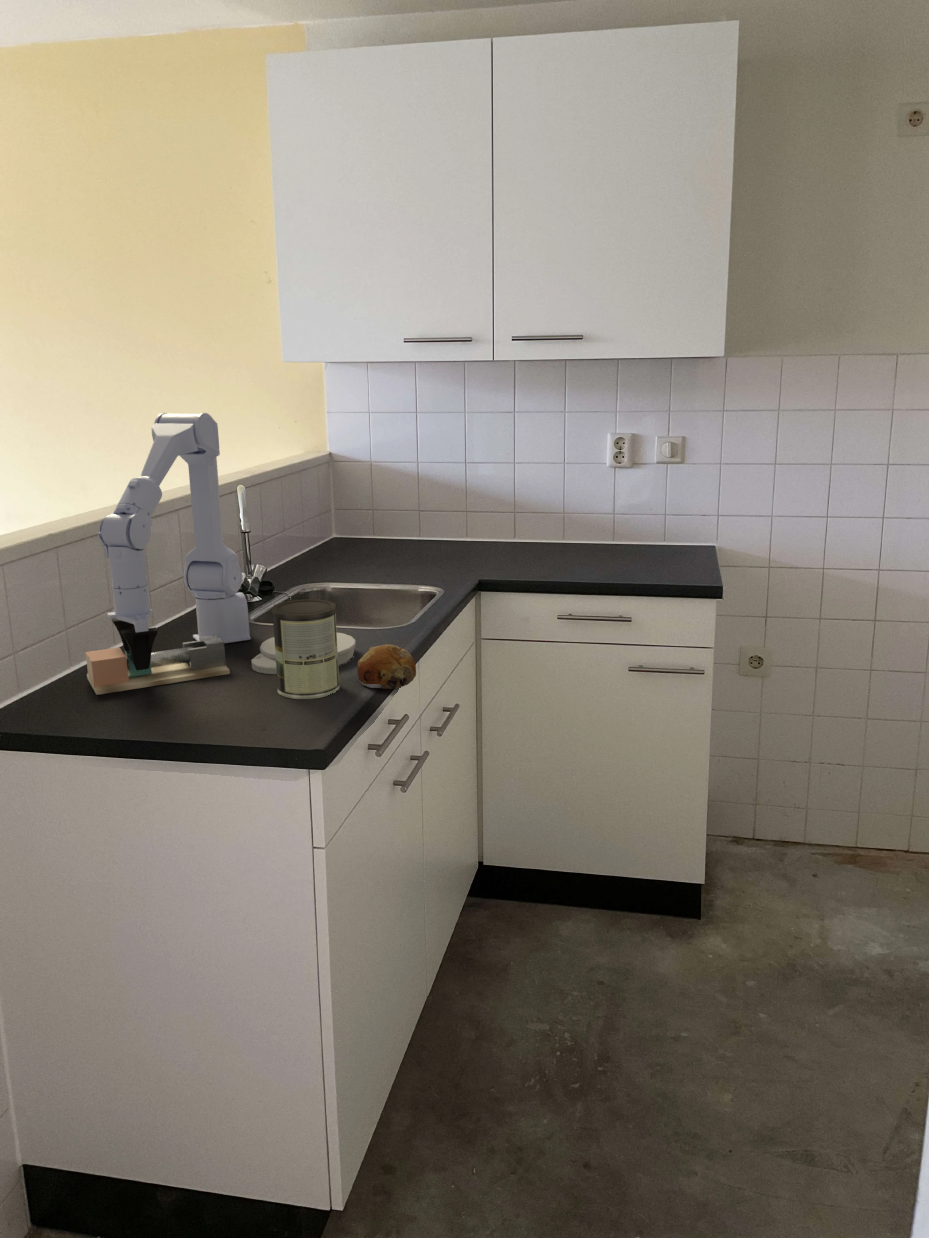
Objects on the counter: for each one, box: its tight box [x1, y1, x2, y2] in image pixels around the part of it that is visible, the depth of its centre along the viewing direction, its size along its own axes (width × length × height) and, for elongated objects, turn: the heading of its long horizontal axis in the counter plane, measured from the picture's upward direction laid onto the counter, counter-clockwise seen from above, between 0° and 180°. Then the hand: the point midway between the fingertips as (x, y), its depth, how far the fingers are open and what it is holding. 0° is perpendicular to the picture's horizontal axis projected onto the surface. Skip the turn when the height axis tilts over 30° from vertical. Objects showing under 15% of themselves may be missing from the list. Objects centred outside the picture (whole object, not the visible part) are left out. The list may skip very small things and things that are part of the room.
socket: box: [85, 646, 129, 687], centre depth 166 cm, size 6×6×4 cm
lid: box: [250, 632, 357, 675], centre depth 179 cm, size 17×20×3 cm
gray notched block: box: [182, 635, 227, 671], centre depth 173 cm, size 6×5×4 cm
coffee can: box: [271, 598, 341, 700], centre depth 161 cm, size 10×10×14 cm
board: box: [86, 663, 231, 696], centre depth 170 cm, size 22×10×1 cm, turn 118°
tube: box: [124, 647, 193, 677], centre depth 169 cm, size 15×3×4 cm, turn 118°
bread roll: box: [356, 643, 417, 690], centre depth 166 cm, size 10×10×8 cm
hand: (138, 663), depth 168 cm, fingers open, 7 cm apart
